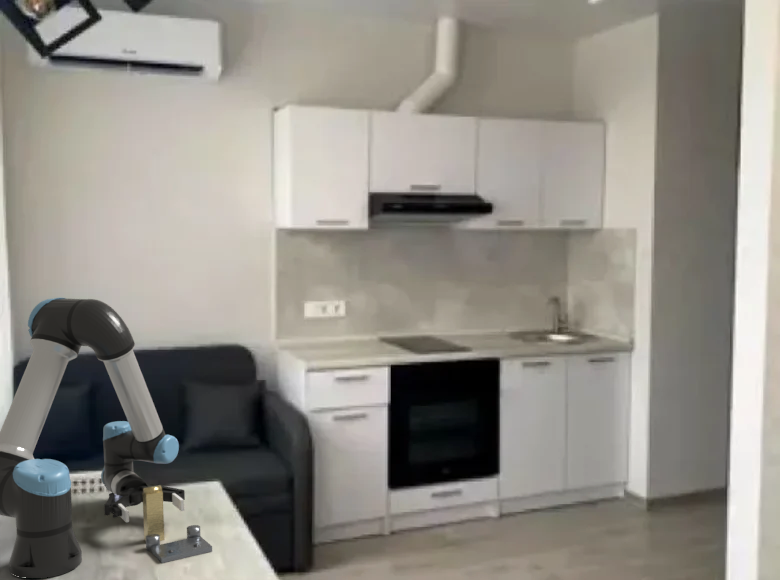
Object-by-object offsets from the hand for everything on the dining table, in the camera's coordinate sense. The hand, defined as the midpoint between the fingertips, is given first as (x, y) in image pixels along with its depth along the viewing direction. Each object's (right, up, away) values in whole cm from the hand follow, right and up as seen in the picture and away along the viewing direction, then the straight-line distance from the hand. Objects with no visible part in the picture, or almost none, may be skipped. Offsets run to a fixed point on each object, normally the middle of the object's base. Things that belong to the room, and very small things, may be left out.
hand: (155, 511), depth 207 cm
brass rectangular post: (0, -7, 0) cm, 7 cm away
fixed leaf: (+7, -7, -7) cm, 12 cm away
